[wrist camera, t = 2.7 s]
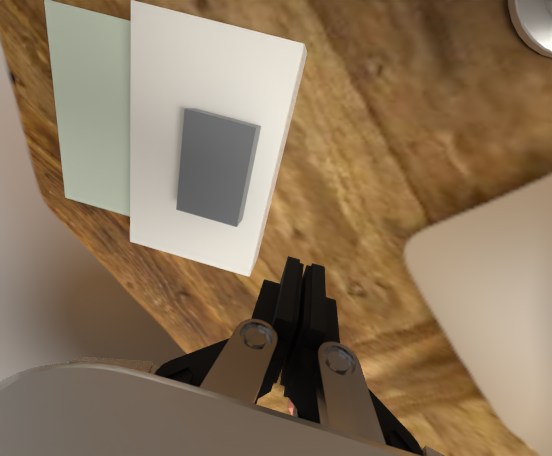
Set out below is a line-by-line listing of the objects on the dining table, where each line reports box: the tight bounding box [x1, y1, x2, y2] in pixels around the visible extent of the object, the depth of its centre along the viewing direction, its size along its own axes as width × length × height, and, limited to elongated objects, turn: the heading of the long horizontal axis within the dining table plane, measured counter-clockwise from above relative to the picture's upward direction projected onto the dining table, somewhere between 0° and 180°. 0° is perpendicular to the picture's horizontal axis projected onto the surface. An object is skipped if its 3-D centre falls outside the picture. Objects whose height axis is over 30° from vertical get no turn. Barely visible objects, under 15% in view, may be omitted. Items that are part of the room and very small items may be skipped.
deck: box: [130, 0, 307, 277], centre depth 27 cm, size 22×14×4 cm, turn 166°
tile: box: [176, 108, 261, 227], centre depth 24 cm, size 9×6×2 cm, turn 166°
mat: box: [44, 0, 131, 216], centre depth 29 cm, size 20×10×1 cm, turn 166°
